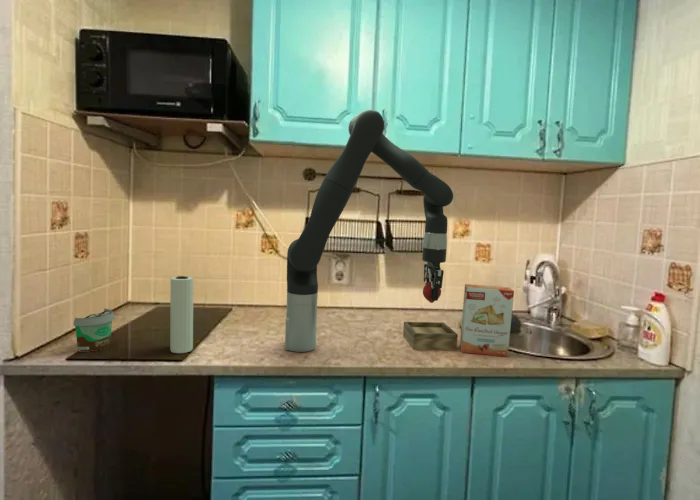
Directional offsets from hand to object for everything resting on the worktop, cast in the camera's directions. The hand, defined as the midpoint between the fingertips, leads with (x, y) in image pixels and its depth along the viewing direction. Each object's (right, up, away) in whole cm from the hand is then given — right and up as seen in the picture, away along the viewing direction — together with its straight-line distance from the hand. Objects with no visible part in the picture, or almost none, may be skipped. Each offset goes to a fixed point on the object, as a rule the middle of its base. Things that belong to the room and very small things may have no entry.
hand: (431, 298), depth 141 cm
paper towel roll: (-75, -13, -16) cm, 78 cm away
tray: (-1, -15, +2) cm, 15 cm away
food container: (-98, -13, -17) cm, 100 cm away
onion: (0, -2, 0) cm, 2 cm away
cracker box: (+15, -17, -6) cm, 23 cm away
